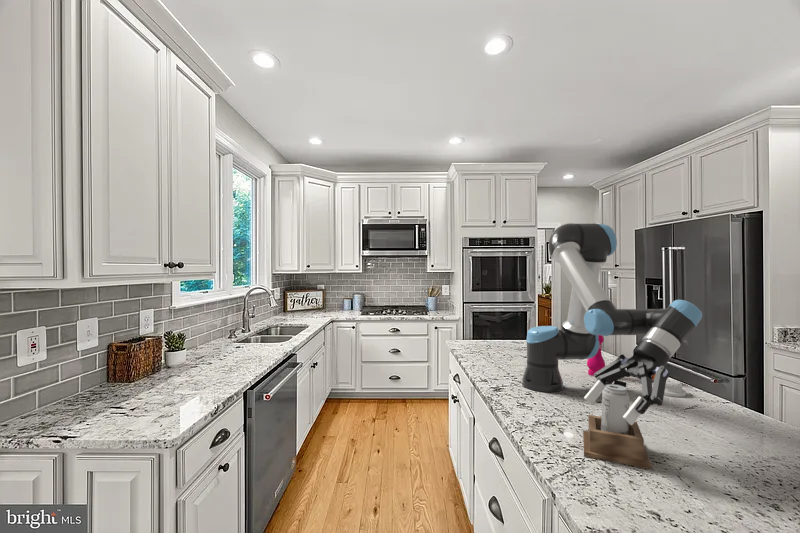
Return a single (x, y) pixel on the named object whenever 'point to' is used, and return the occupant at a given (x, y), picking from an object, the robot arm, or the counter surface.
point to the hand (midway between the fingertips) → (605, 410)
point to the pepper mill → (596, 359)
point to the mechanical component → (674, 389)
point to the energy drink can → (614, 409)
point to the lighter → (619, 383)
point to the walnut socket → (615, 444)
